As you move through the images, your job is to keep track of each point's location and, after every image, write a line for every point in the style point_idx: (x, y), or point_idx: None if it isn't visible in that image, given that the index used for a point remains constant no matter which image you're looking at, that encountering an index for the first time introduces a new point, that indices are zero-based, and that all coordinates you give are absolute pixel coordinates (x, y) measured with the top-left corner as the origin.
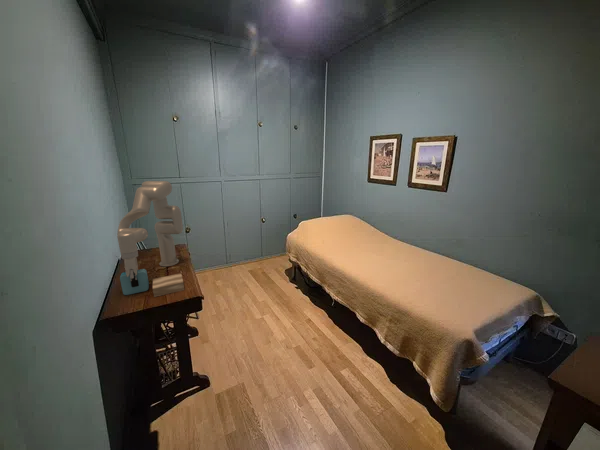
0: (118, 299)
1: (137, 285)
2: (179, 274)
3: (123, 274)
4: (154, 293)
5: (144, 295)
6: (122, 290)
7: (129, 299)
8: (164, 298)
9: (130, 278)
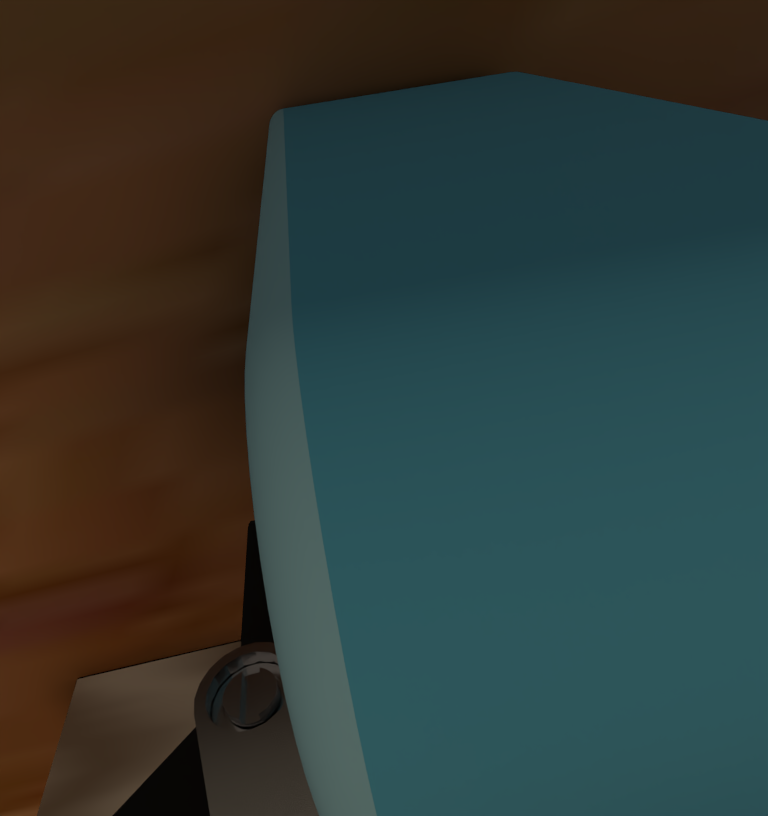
0: (78, 10)
1: None
2: None
3: (596, 792)
4: (64, 754)
5: (177, 537)
6: (274, 128)
7: (40, 314)
8: (13, 790)
9: (212, 812)
